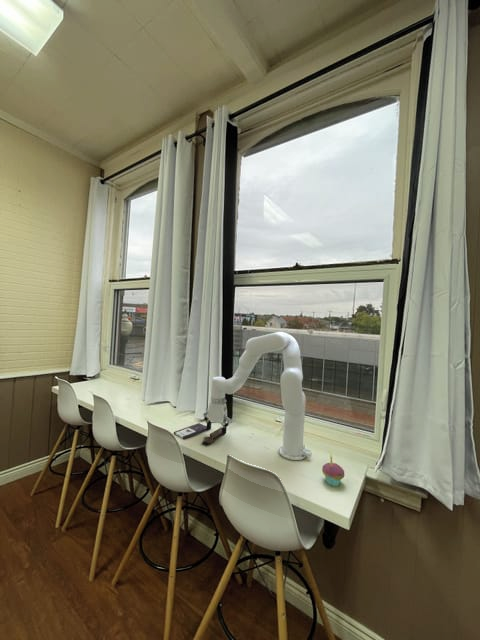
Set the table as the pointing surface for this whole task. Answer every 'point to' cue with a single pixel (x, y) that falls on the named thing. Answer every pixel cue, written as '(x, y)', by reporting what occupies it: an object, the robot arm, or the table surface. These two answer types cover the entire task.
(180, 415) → the table surface
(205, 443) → the black remote control
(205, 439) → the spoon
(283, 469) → the table surface
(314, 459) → the table surface
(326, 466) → the cupcake
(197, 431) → the chocolate bar
